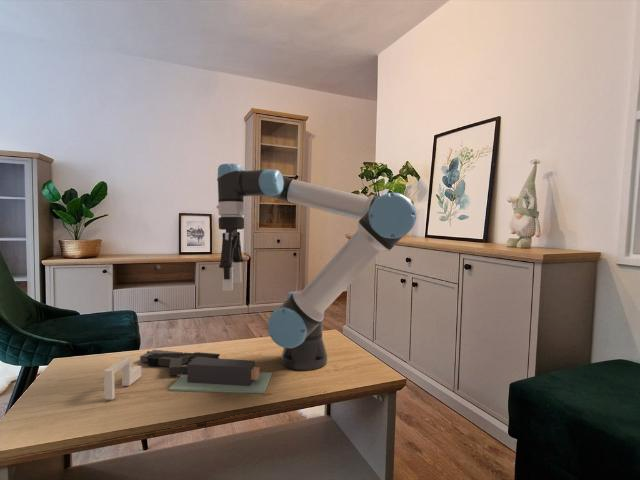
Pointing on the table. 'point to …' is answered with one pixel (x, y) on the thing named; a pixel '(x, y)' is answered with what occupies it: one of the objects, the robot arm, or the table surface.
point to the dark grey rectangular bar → (222, 371)
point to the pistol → (173, 359)
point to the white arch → (127, 376)
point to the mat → (255, 386)
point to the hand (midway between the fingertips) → (232, 286)
